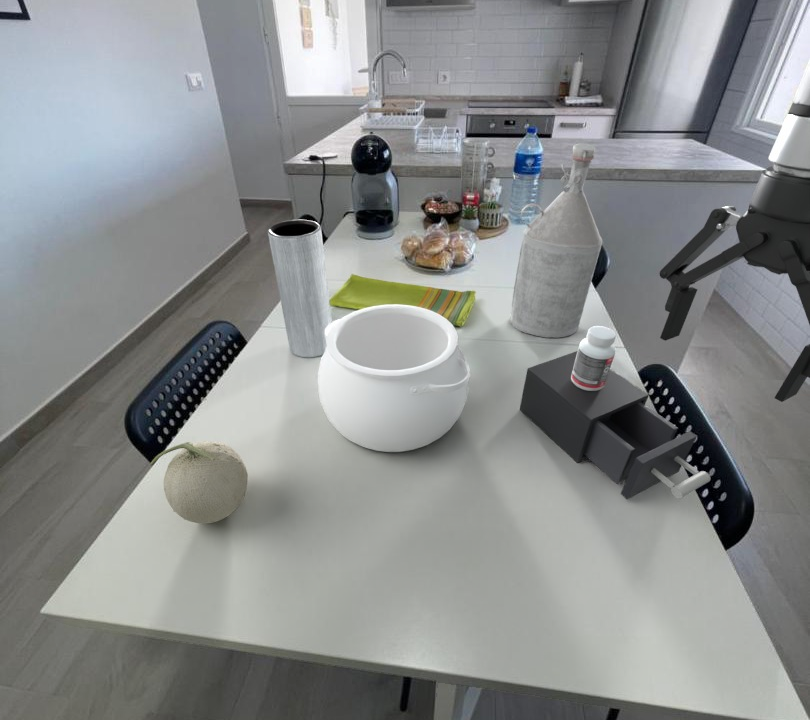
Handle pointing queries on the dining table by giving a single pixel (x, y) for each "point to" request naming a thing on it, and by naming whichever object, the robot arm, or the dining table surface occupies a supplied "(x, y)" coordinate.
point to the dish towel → (404, 297)
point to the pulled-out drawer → (642, 451)
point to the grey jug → (557, 258)
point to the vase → (302, 284)
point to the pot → (392, 377)
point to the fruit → (204, 481)
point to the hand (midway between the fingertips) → (721, 364)
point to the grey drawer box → (572, 403)
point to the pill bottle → (594, 359)
